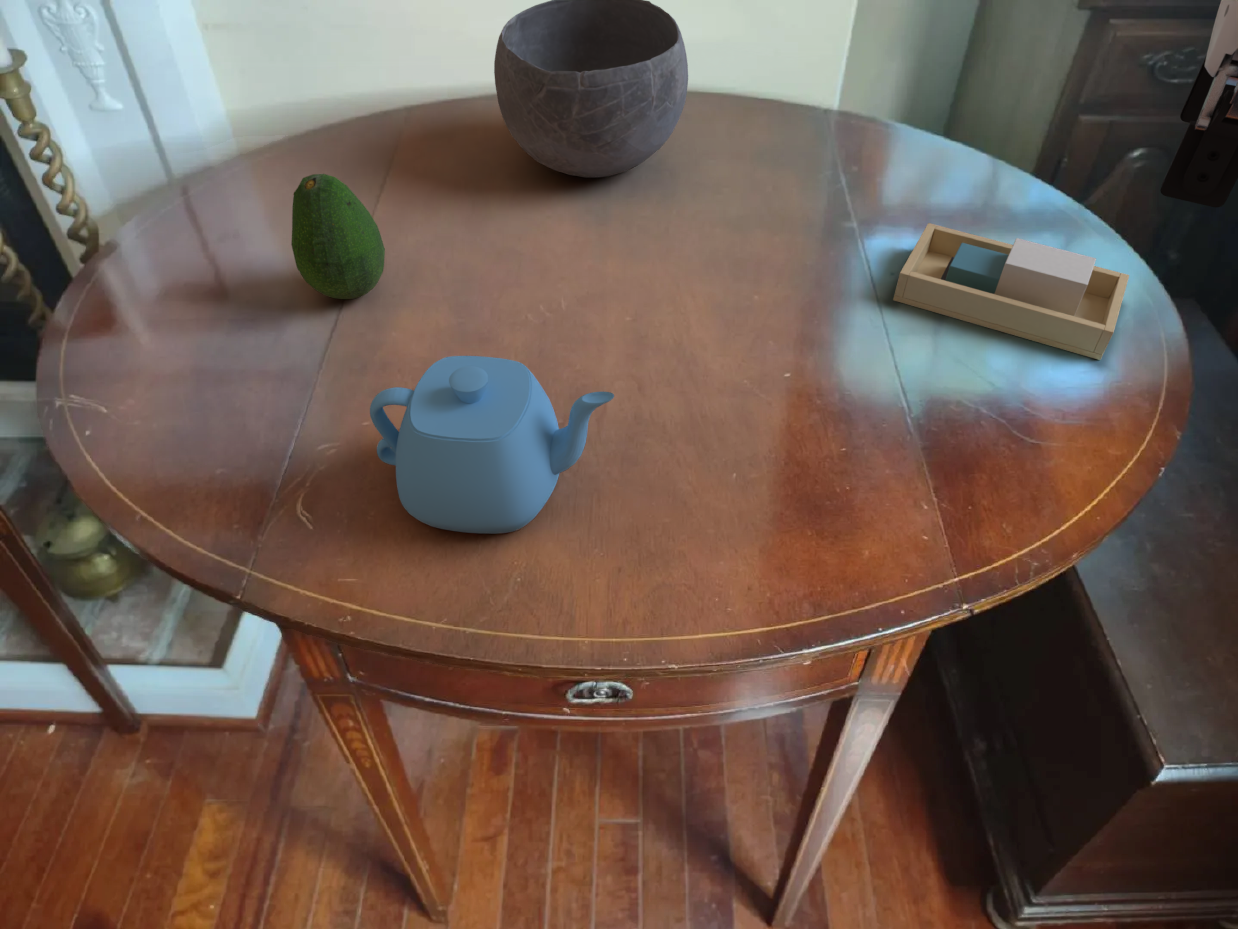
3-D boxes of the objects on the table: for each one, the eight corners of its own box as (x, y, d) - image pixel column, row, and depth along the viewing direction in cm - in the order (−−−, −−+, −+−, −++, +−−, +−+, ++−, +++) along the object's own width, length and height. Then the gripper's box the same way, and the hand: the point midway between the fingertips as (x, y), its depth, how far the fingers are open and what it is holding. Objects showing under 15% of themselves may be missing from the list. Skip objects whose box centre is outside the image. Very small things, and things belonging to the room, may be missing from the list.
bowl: (505, 120, 114) (493, -11, 103) (674, 116, 114) (680, -15, 104) (500, 211, 100) (485, 69, 89) (693, 205, 100) (702, 64, 89)
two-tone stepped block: (1077, 302, 87) (1096, 257, 84) (1068, 329, 85) (1087, 284, 81) (948, 266, 91) (961, 223, 88) (936, 291, 89) (948, 247, 85)
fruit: (316, 270, 92) (284, 155, 84) (397, 268, 92) (374, 154, 84) (299, 319, 87) (263, 202, 78) (385, 318, 87) (359, 201, 78)
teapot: (602, 453, 60) (326, 431, 61) (604, 558, 67) (359, 536, 69) (624, 330, 68) (382, 313, 70) (624, 436, 76) (406, 419, 77)
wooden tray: (1116, 302, 88) (1129, 274, 86) (1100, 360, 83) (1113, 332, 80) (921, 249, 94) (928, 222, 92) (892, 300, 89) (899, 272, 86)
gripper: (1487, -140, 35) (1262, 252, 48) (1455, -227, 46) (1278, 112, 58) (1265, -164, 38) (1106, 214, 50) (1283, -242, 48) (1148, 87, 61)
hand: (1198, 159), depth 54 cm, fingers open, 9 cm apart
